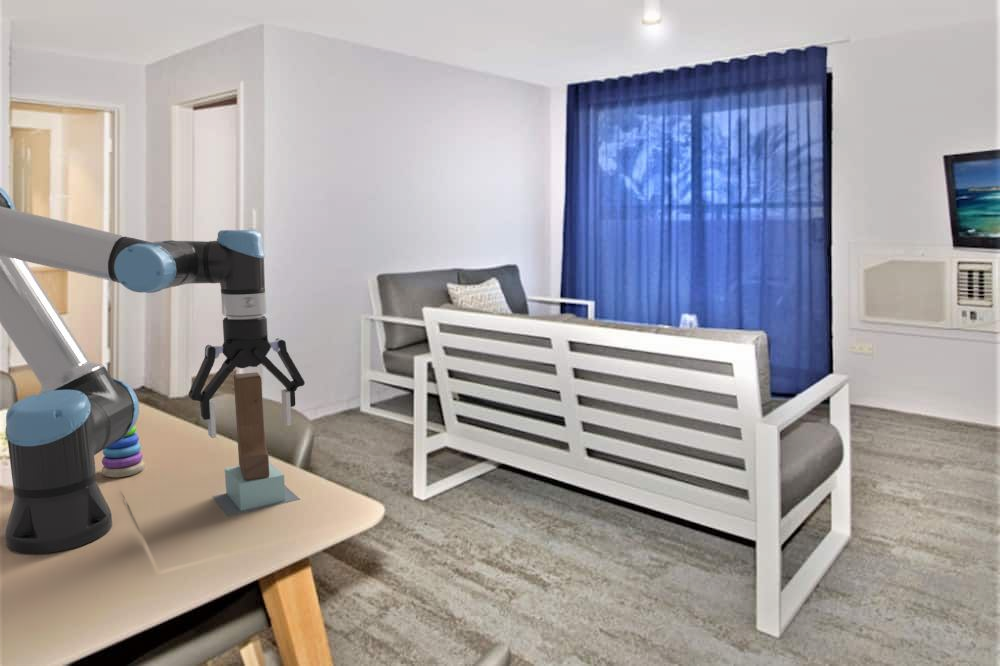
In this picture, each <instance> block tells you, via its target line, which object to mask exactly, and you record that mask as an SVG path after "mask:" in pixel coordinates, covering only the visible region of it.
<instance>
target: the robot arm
mask: <svg viewBox="0 0 1000 666" xmlns="http://www.w3.org/2000/svg"><path fill="white" fill-rule="evenodd" d="M261 234H262V233H260V232H259V231H258V230H253V229H223V230H219V231H218V232H217V238H216V240H212V241H211V240H210V241H204V240H203V241H200V240H195V241H194V240H171V239H170V240H161V241H159V240H157V241H153V242H152V241H147V240H142V239H138V238H135V237H129V236H125V235H122V234H117V233H113V232H109V231H105V230H100V229H98V228H97V229H96V228H93V227H88V226H83V225H80V224H75V223H71V222H66V221H63V220H58V219H54V218H50V217H46V216H41V215H37V214H33V213H28V212H25V211H20V210H17V209H16V208H15V204H14V203H13V200H12V198H11V197H10V196H9V194H8V193H7V192H6V191H5V190H4V189H3V188H2V187H1V186H0V325H1V326H2V328H3V329H4V331H5V333H6V334H7V335H8V337H9V338H10V340H11V341H12V343H13V344H14V347H16V349H17V350H18V352H19V353H20V355H21V357H22V358H23V360H24V361H25V362H26V364H27V366H28V367H29V368H30V370H31V371H32V373H33V375H34V376H35V377H36V379H37V381H38V383H39V384H40V390H39V394H31V395H29V396H26V397H23V398H21V399H19V400H18V401H16V402H14V404H12V405H11V406H10V407H9V408H8V409H7V411H6V414H5V425H6V426H5V431H4V432H5V433H4V434H5V437H6V439H7V445H8V447H7V448H8V454H9V462H10V464H9V465H10V471H11V472H10V473H11V480H12V488H13V496H14V497H13V502H12V505H11V509H10V514H9V517H8V521H7V524H6V526H5V527H6V528H5V534H4V535H5V542H6V543H5V544H6V547H7V549H8V550H9V551H11V552H12V553H13V552H14V553H16V554H23V555H41V554H50V553H57V552H62V551H67V550H70V549H74V548H78V547H81V546H83V545H86V544H89V543H91V542H93V541H96V540H98V539H99V538H101V537H103V536H104V535H106V534H107V533H108V532H109V531H110V530H111V529H112V527H113V516H112V512H111V509H110V507H109V504H108V503H107V501H106V499H105V497H104V494H103V493H102V491H101V489H100V486H99V485H98V483H97V475H96V473H97V472H96V462H95V456H96V455H97V454H98V453H100V452H103V449H105V448H107V447H108V446H110V445H112V444H114V443H116V442H117V441H120V440H121V439H122V438H123V437H124V436H125V435H126V434H127V433H128V432H129V431H130V430H131V429H132V428H133V427H134V426H136V423H137V421H138V419H139V415H140V403H139V398H138V397H137V395H136V392H135V391H134V389H133V388H132V387H131V386H130V385H129V384H127V383H126V382H124V380H119V379H116V378H113V377H112V376H111V374H110V373H109V371H108V370H107V368H106V367H105V365H104V364H102V363H101V364H100V363H97V362H93V361H91V360H90V358H88V356H87V353H85V351H84V350H83V348H82V346H81V345H80V343H79V342H78V340H77V339H76V336H74V334H73V333H72V331H71V329H70V327H69V326H68V325H67V323H66V322H65V320H64V318H63V317H62V316H61V314H60V312H59V311H58V309H57V307H56V306H55V305H54V303H53V301H52V299H51V298H50V297H49V296H48V294H47V292H46V291H45V289H44V288H43V286H42V285H41V283H40V282H39V280H38V278H37V277H36V276H35V274H34V272H33V270H32V269H31V267H30V266H29V265H28V263H31V264H32V263H33V264H35V265H40V266H45V267H49V268H54V269H58V270H63V271H67V272H71V273H75V274H80V275H85V276H88V277H94V278H97V279H101V280H106V281H109V282H110V281H111V282H114V283H119V284H121V285H123V287H125V288H126V289H127V290H129V291H132V292H135V293H142V294H143V293H147V294H150V293H151V294H153V293H157V292H161V291H162V290H166V289H170V288H173V287H178V286H183V285H191V284H220V285H219V286H220V295H221V313H222V315H223V316H225V317H224V318H223V319H222V331H223V343H222V345H221V346H218V345H216V346H214V345H213V346H212V345H211V344H207V345H206V346H205V348H204V358H203V360H202V362H201V364H200V367H199V369H198V371H197V374H196V375H195V378H194V380H193V382H192V384H191V387H190V390H189V391H188V397H189V398H190V399H191V400H192V401H197V402H199V404H200V416H201V418H202V419H203V420H204V421H207V433H208V436H209V437H210V438H211V439H216V438H217V425H216V409H215V401H213V400H212V398H213V397H214V396H215V394H216V393H217V391H218V390H219V389H220V388H221V386H222V385H223V383H224V382H225V380H226V379H227V378H228V377H229V375H230V374H231V373H233V371H235V369H236V368H239V369H245V368H249V367H250V368H251V367H252V368H257V367H258V366H260V365H262V366H263V367H264V368H265V369H266V370H267V371H269V373H271V374H272V375H273V377H275V379H276V380H277V381H278V382H279V383H281V384H282V386H284V387H285V388H282V389H281V390H280V391H281V392H280V393H281V409H282V411H281V413H282V423H283V424H284V425H285V426H287V427H288V426H292V410H291V408H293V407H295V405H296V391H297V389H298V388H299V387H303V386H304V385H305V383H306V382H305V381H304V378H303V377H302V375H301V373H300V371H299V370H298V367H296V365H295V362H294V361H293V359H292V358H291V356H290V354H289V352H288V350H287V343H286V340H284V339H282V338H278V337H277V338H276V339H275V340H271V341H269V338H268V321H267V320H268V319H267V317H266V316H265V314H267V302H266V301H267V299H266V283H265V282H266V280H265V254H264V247H263V236H262V235H261ZM27 262H28V263H27ZM271 349H272V350H273V351H274V352H276V353H277V355H278V357H279V359H280V360H281V362H282V363H283V365H284V367H285V369H286V370H287V373H288V374H289V375H290V377H291V379H292V380H290V379H289V378H288V377H287V376H286V375H285V374H284V373H283V372H282V371H281V370H280V369H279V368H278V367H277V366H276V365H275V364H273V362H272V361H271V360H270V359H269V358H268V357H267V355H268V353H269V352H270V350H271ZM220 354H223V355H224V357H225V358H226V359H225V360H224V361H223V362H222V364H221V367H220V368H219V369H218V370H217V372H216V373H215V375H214V376H213V377H212V378H211V380H210V381H209V382H208V384H207V385H206V382H207V380H208V378H209V376H210V374H211V371H212V368H213V366H214V364H215V361H216V359H218V358H219V357H220ZM205 385H206V386H205Z"/></svg>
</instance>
